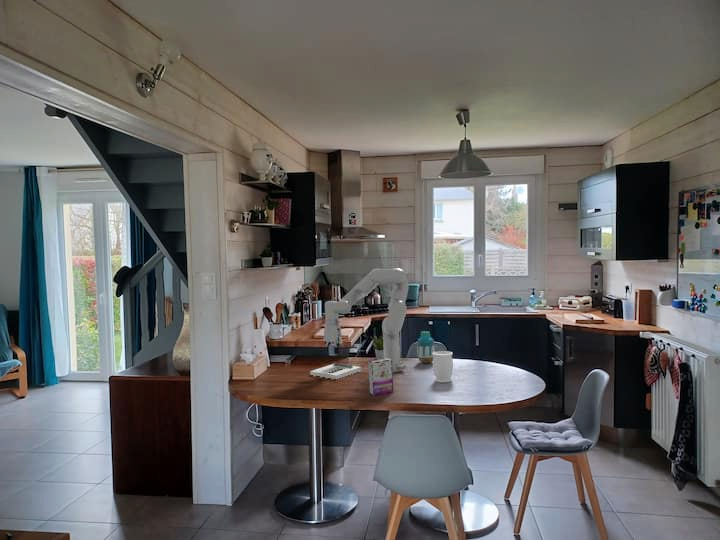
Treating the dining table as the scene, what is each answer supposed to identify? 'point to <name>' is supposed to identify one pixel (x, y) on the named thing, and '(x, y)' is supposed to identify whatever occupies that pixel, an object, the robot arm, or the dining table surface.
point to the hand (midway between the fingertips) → (333, 353)
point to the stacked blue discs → (332, 349)
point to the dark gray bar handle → (343, 365)
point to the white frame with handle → (336, 375)
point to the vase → (425, 347)
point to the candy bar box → (380, 376)
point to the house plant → (379, 348)
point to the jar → (443, 366)
